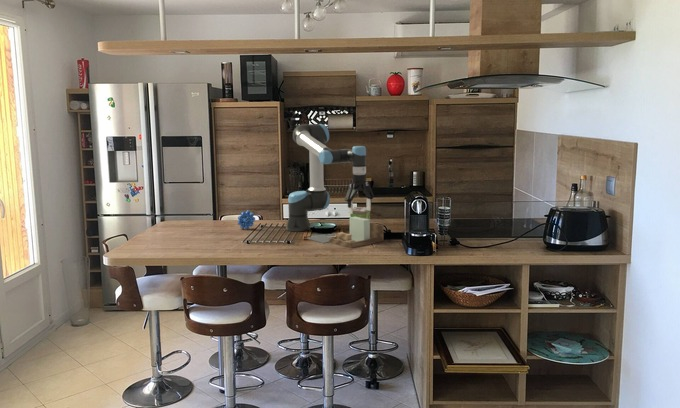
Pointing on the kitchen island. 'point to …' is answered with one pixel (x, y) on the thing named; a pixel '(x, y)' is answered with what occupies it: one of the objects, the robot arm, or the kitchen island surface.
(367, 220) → the tall block
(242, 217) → the blue knobby thick disc
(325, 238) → the mat
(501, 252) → the kitchen island surface
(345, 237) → the offcut short
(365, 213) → the tea box
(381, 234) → the rack
